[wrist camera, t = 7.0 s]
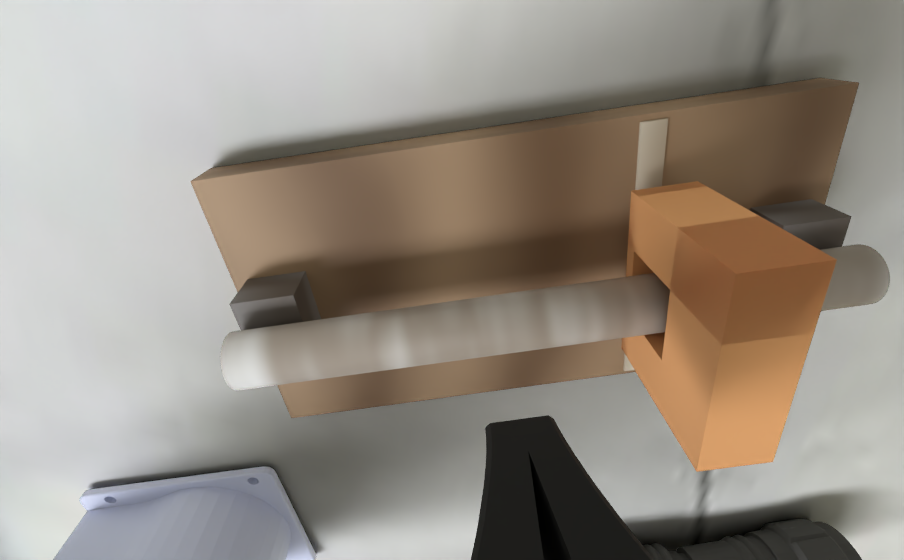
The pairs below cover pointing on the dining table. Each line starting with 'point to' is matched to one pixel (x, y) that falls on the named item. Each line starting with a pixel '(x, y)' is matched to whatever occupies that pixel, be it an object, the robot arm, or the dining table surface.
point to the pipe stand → (502, 243)
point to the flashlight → (769, 545)
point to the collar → (723, 320)
